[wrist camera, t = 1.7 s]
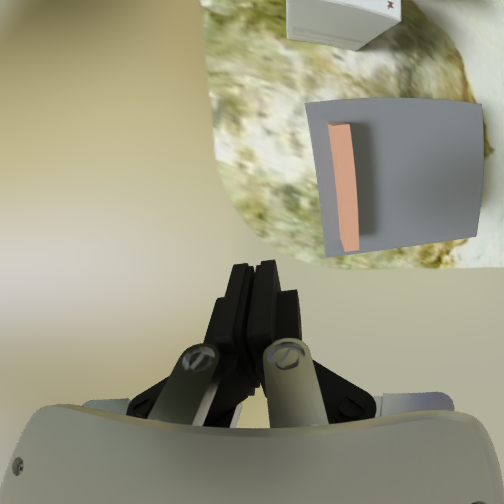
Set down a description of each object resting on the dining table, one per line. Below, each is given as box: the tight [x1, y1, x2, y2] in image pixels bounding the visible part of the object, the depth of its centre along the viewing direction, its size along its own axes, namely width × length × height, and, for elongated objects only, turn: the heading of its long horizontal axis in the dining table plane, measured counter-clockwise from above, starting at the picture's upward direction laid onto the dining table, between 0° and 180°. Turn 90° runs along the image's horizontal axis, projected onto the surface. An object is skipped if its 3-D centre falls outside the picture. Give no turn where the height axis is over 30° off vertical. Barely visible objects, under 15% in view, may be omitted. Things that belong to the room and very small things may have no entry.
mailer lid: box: [305, 98, 484, 258], centre depth 19 cm, size 17×14×3 cm
